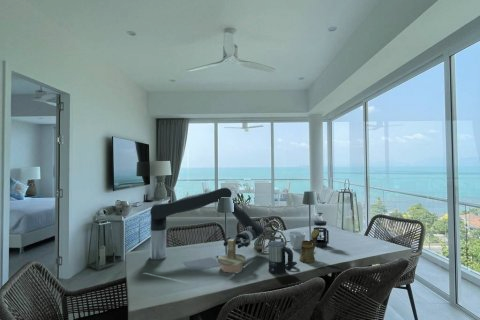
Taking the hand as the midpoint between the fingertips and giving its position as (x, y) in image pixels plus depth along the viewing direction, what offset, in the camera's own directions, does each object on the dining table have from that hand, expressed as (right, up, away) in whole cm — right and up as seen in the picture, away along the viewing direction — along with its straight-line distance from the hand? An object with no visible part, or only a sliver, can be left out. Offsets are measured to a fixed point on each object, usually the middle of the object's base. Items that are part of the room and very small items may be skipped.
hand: (231, 245), depth 147 cm
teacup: (+43, -14, +37) cm, 59 cm away
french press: (+61, -14, +43) cm, 76 cm away
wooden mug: (+47, -14, +15) cm, 51 cm away
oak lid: (0, -8, 0) cm, 8 cm away
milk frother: (+28, -13, 0) cm, 31 cm away
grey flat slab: (-17, -14, +7) cm, 23 cm away
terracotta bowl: (0, -13, 0) cm, 13 cm away
